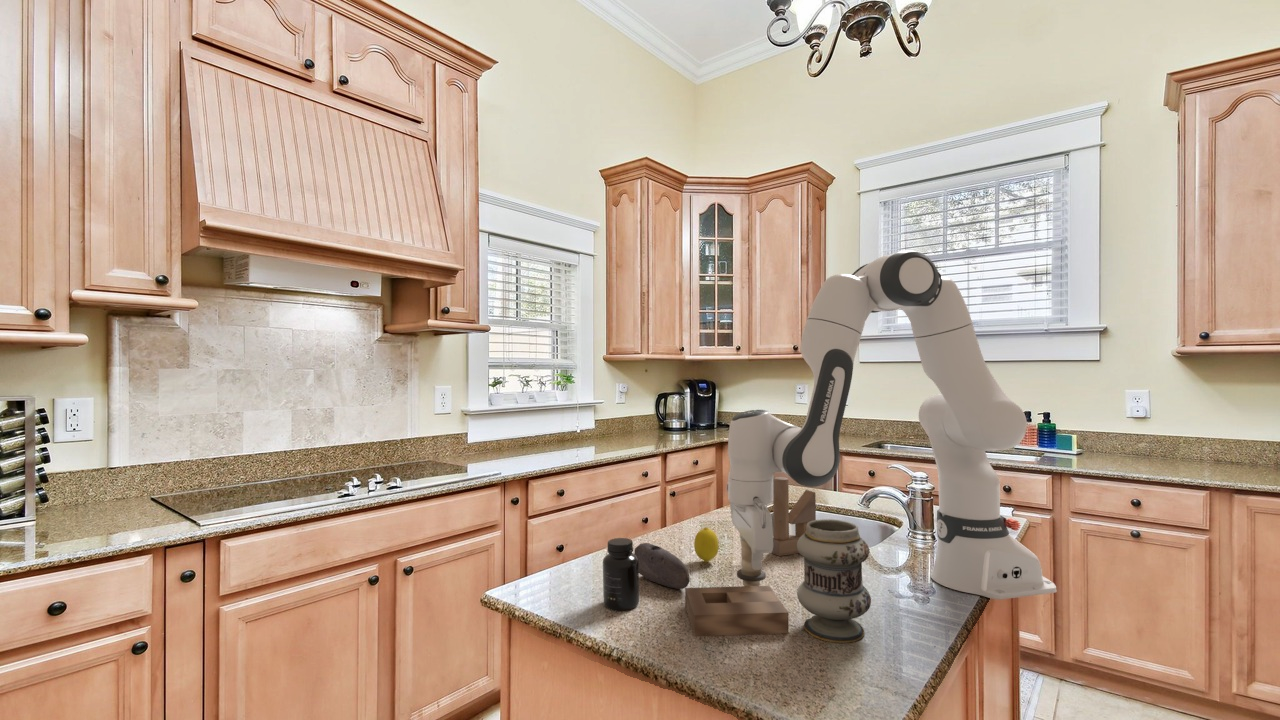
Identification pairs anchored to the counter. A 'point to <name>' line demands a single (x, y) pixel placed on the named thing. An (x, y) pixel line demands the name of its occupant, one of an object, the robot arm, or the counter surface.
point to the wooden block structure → (790, 517)
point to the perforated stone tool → (661, 566)
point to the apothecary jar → (833, 580)
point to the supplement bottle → (620, 575)
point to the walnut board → (735, 611)
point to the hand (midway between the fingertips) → (751, 561)
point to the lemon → (706, 544)
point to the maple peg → (749, 568)
